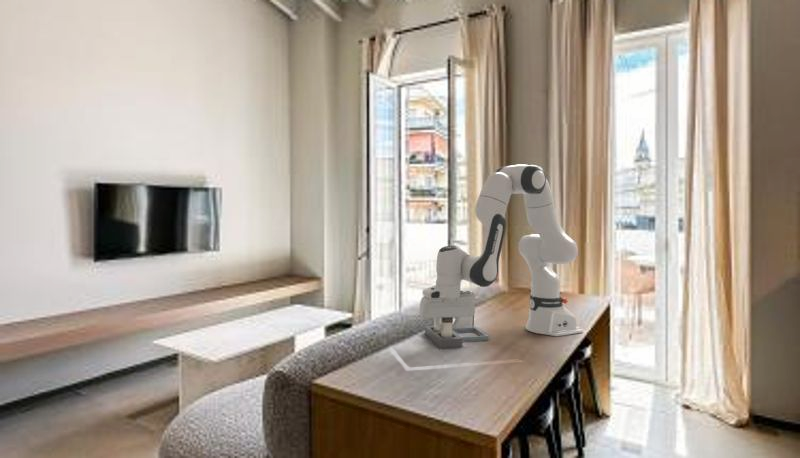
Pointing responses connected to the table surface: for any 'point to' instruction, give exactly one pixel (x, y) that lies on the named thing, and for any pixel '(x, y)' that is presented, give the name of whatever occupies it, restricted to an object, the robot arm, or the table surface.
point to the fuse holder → (442, 339)
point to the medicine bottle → (466, 322)
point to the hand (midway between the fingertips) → (446, 329)
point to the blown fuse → (447, 327)
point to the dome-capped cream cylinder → (436, 325)
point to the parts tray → (471, 338)
